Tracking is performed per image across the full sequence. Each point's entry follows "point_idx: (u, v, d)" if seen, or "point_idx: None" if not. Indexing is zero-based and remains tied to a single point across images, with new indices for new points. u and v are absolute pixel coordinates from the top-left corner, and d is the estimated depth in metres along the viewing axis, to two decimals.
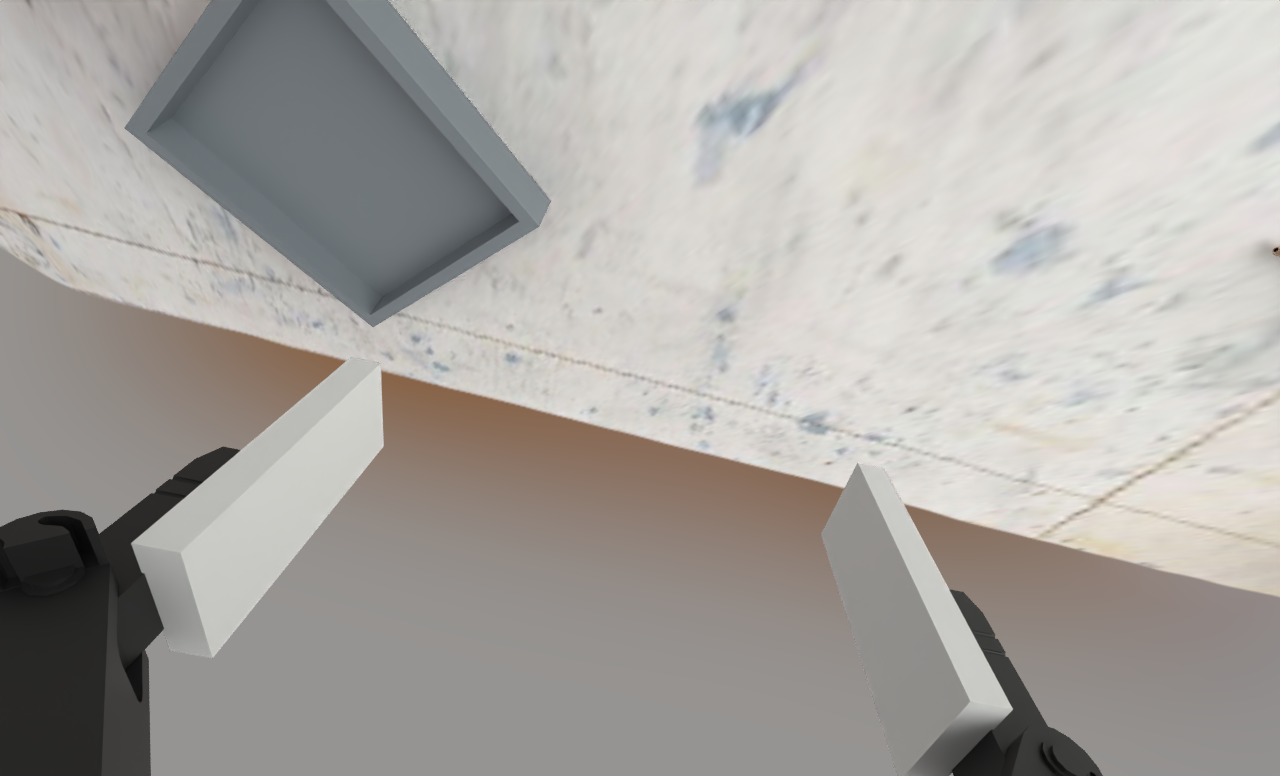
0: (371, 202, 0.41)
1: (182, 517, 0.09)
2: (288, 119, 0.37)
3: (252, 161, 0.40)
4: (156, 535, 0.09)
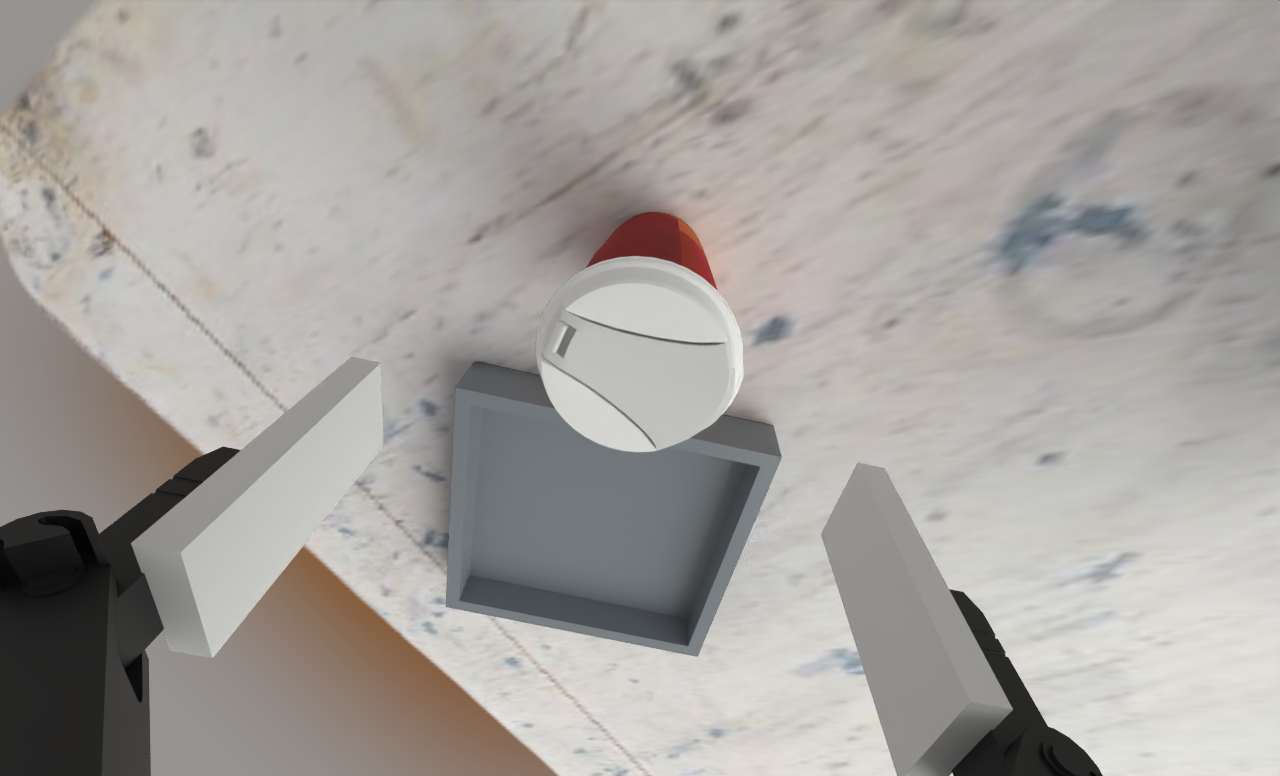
0: (570, 537, 0.41)
1: (182, 517, 0.09)
2: (588, 466, 0.38)
3: (509, 451, 0.37)
4: (156, 535, 0.09)
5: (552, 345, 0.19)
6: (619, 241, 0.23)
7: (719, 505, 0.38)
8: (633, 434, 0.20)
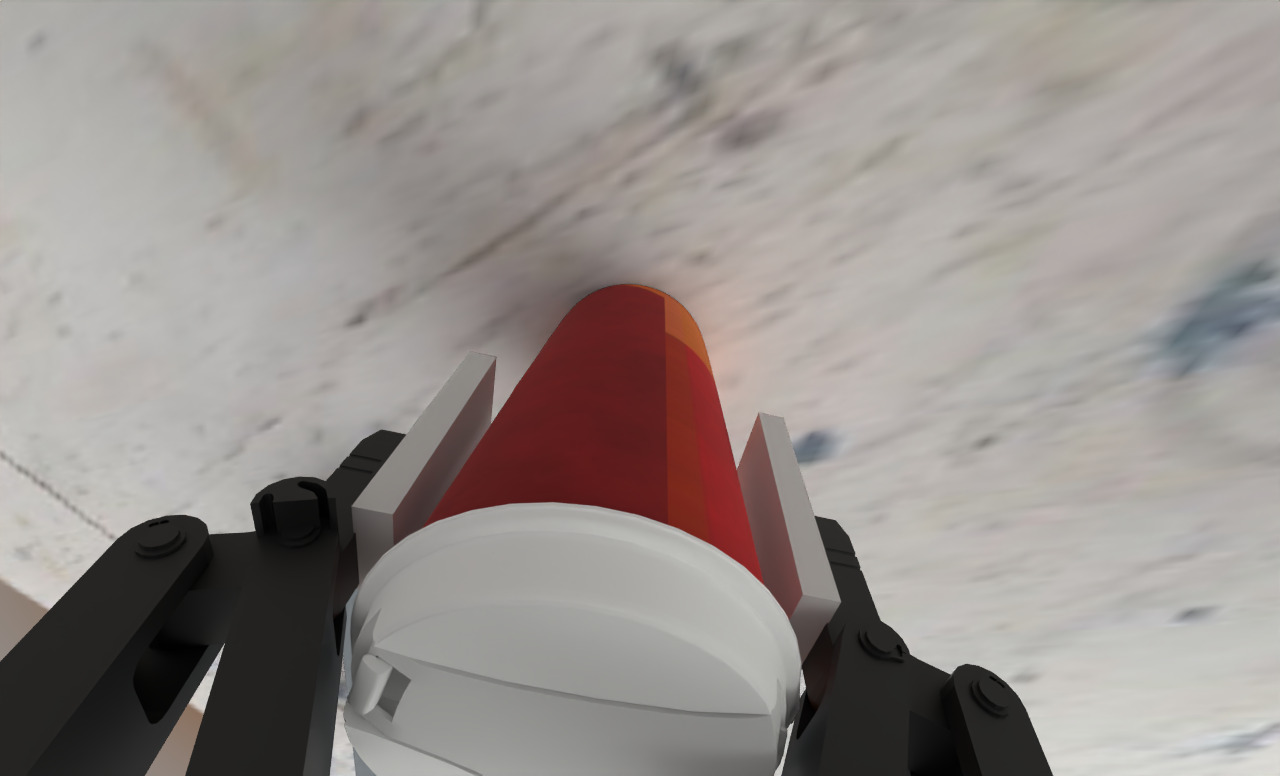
0: None
1: (383, 486, 0.10)
2: None
3: None
4: (368, 500, 0.10)
5: (360, 702, 0.08)
6: (552, 379, 0.12)
7: None
8: None
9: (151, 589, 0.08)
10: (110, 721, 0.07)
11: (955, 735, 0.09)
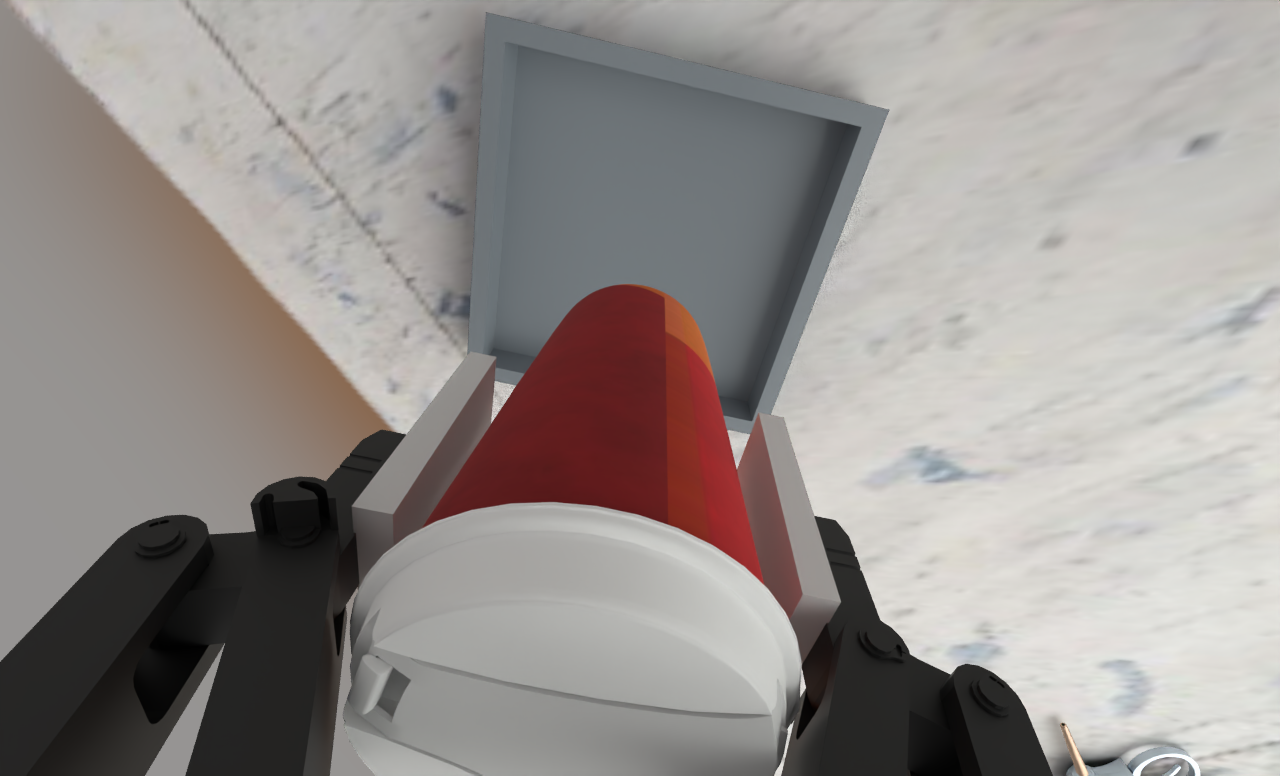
0: None
1: (383, 486, 0.10)
2: (641, 171, 0.31)
3: (546, 152, 0.31)
4: (368, 500, 0.10)
5: (360, 702, 0.08)
6: (552, 378, 0.12)
7: (796, 225, 0.32)
8: None
9: (151, 589, 0.08)
10: (110, 721, 0.07)
11: (955, 735, 0.09)
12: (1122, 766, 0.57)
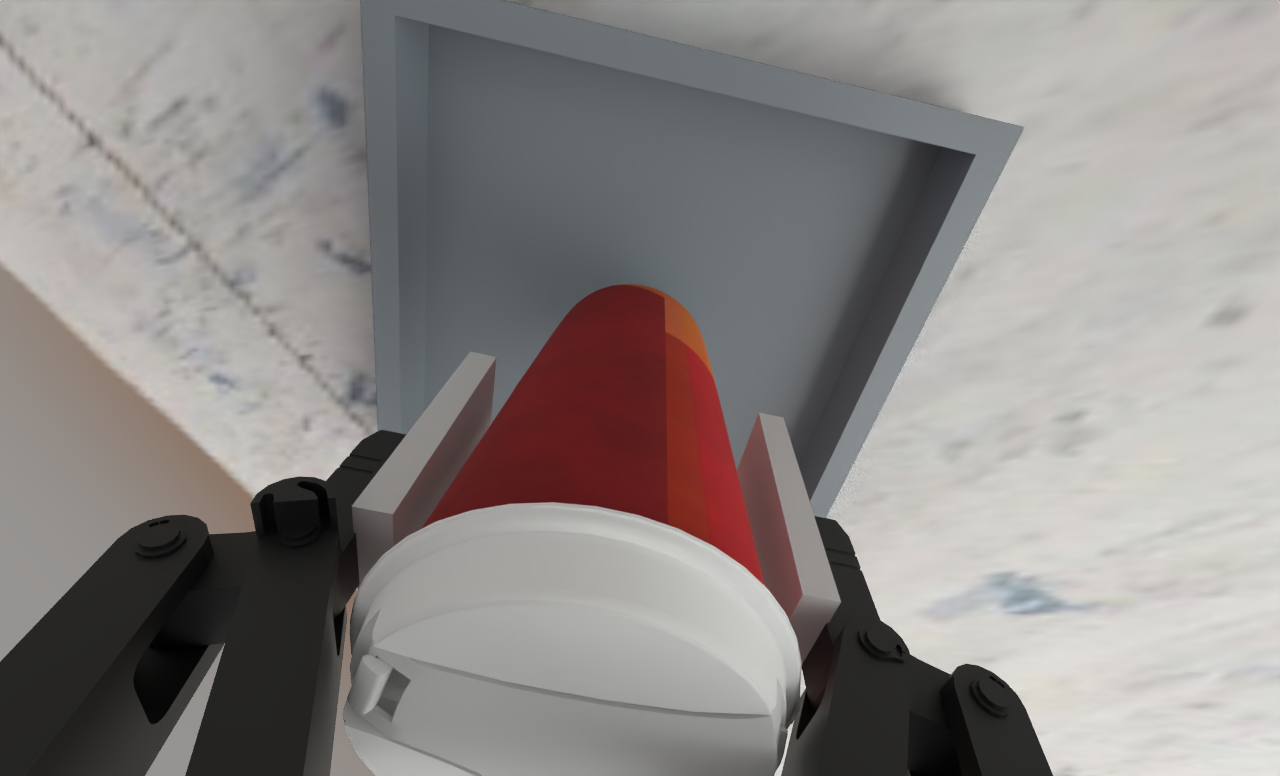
0: None
1: (383, 486, 0.10)
2: (624, 215, 0.21)
3: (481, 187, 0.21)
4: (368, 500, 0.10)
5: (360, 702, 0.08)
6: (551, 378, 0.12)
7: (854, 294, 0.22)
8: None
9: (151, 589, 0.08)
10: (110, 721, 0.07)
11: (955, 735, 0.09)
12: None
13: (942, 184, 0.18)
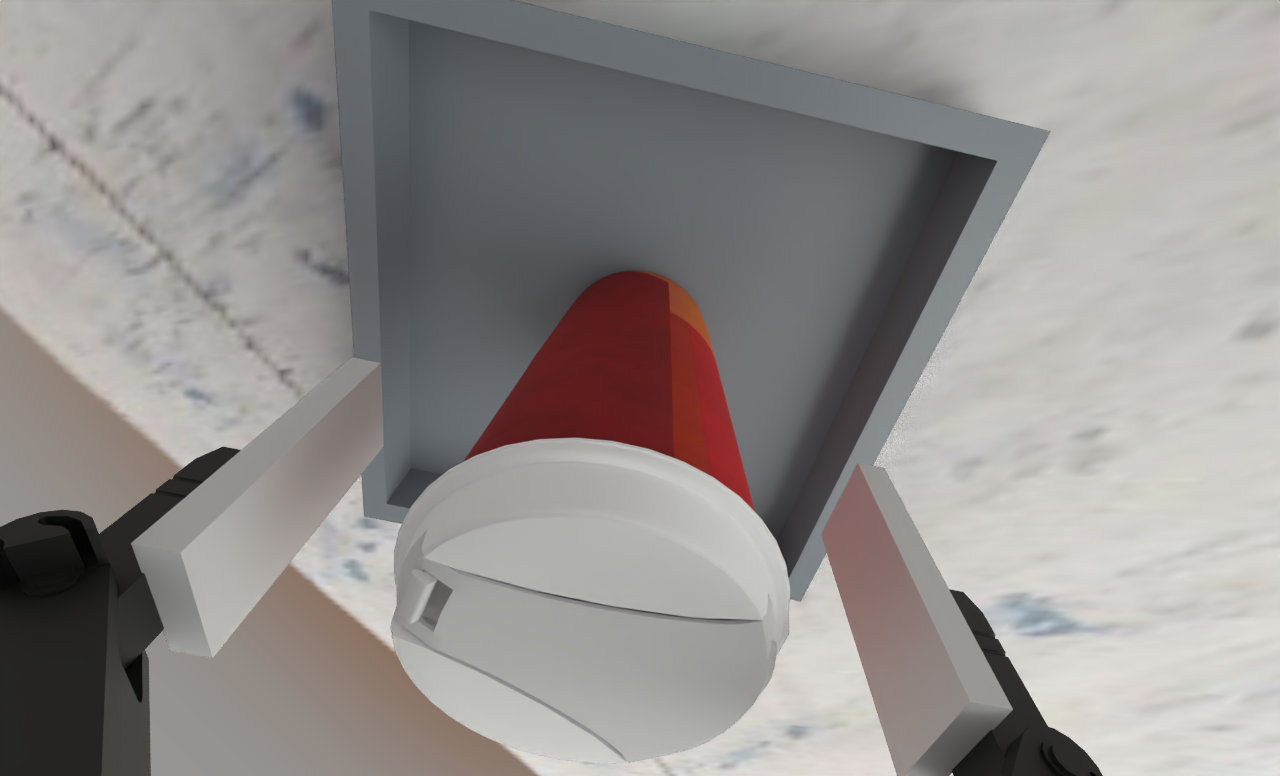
0: None
1: (182, 517, 0.09)
2: (619, 224, 0.20)
3: (467, 194, 0.19)
4: (156, 535, 0.09)
5: (408, 612, 0.09)
6: (567, 348, 0.14)
7: (863, 307, 0.21)
8: (581, 740, 0.11)
9: None
10: None
11: None
12: None
13: (959, 192, 0.17)
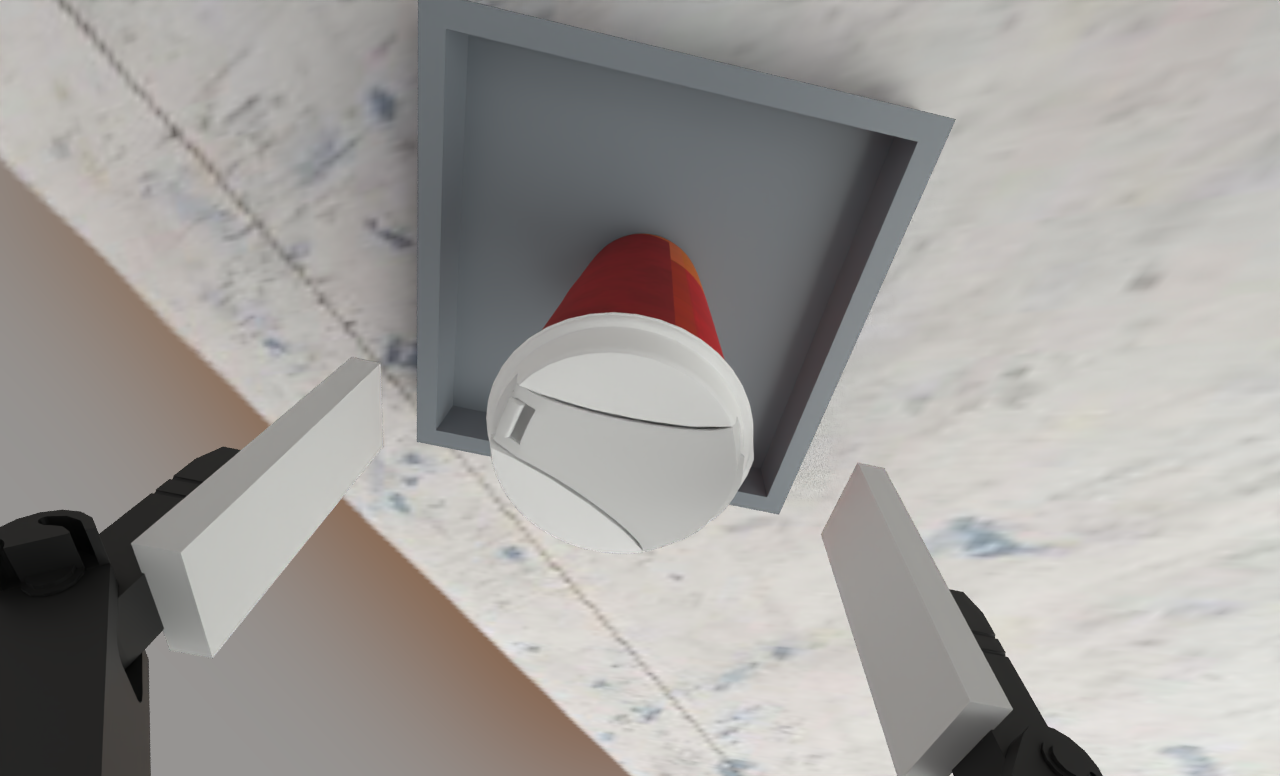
0: None
1: (182, 517, 0.09)
2: (629, 195, 0.25)
3: (509, 171, 0.24)
4: (156, 535, 0.09)
5: (504, 428, 0.14)
6: (596, 279, 0.19)
7: (825, 262, 0.26)
8: (613, 533, 0.16)
9: None
10: None
11: None
12: None
13: (894, 167, 0.22)
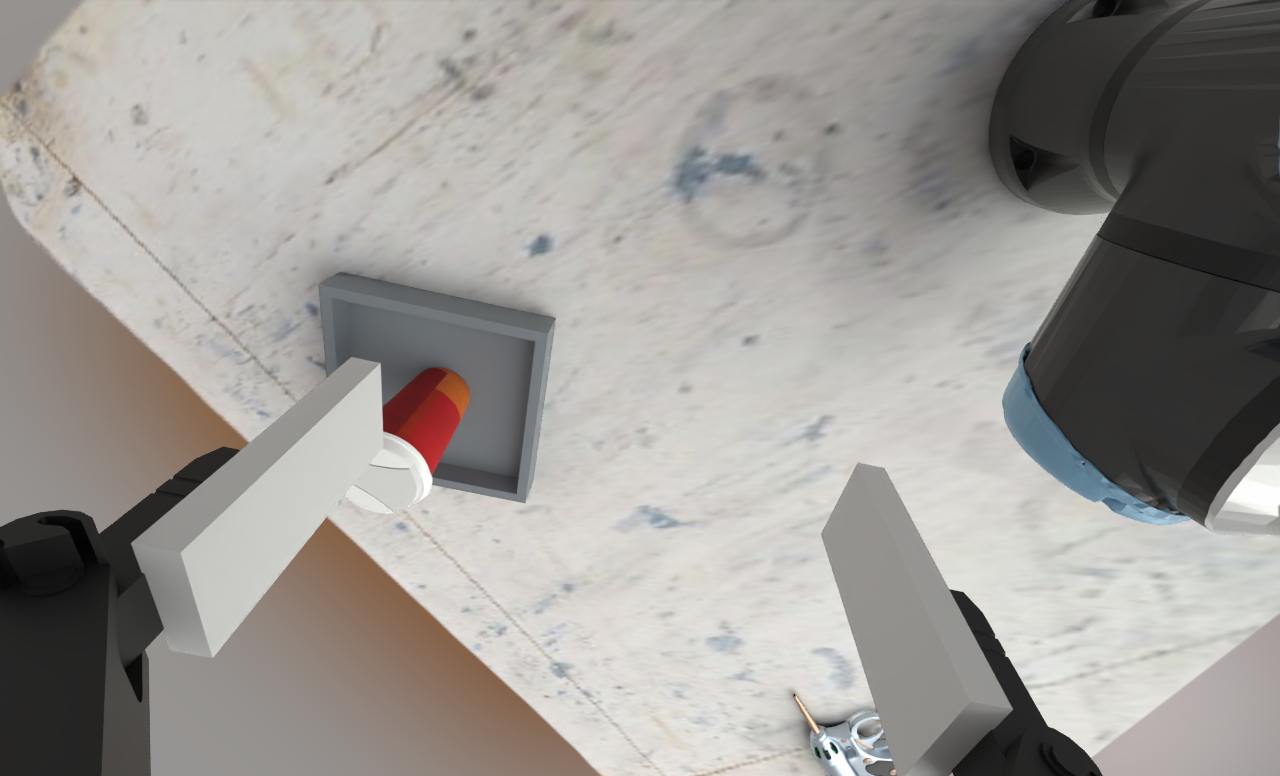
0: None
1: (182, 517, 0.09)
2: (428, 351, 0.52)
3: (371, 340, 0.52)
4: (156, 535, 0.09)
5: None
6: (389, 404, 0.46)
7: (526, 381, 0.53)
8: (381, 505, 0.43)
9: None
10: None
11: None
12: (846, 726, 0.78)
13: None
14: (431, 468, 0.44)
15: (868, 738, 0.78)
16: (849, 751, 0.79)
